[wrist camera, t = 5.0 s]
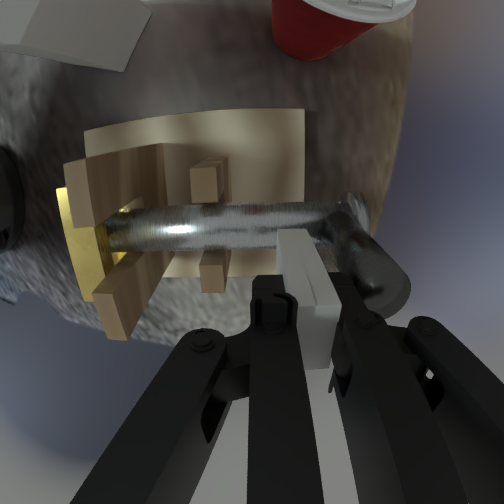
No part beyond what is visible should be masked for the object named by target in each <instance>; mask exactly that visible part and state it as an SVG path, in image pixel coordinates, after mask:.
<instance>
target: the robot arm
mask: <svg viewBox="0 0 504 504" xmlns="http://www.w3.org/2000/svg"><path fill="white" fill-rule="evenodd" d="M23 221H24V199H23V192H22V186H21V182H20V178H19V175H18V172H17V170H16V167H15V165H14V163H13V161H12V160H11V158H10V157H9V155H8V154H7V153H6V152H5V151H4V150H3V149H1V148H0V254H1V253H3V252H5V251H6V250H8V249H9V248H11V247H12V246H13V245H14V244H15V243H16V242H17V241H18V239H19V237H20V234H21V231H22V227H23ZM250 317H251V324H250V326H249V327H248V328H247V329H246V330H245V331H243V332H241V333H240V334H237V335H234V336H229V337H224V335H223V334H221V333H220V332H219V331H216V330H213V329H208V328H201V329H196V330H192V331H190V332H188V333H186V334H185V335H184V336H183V337H182V338H181V339H180V341H179V342H178V344H177V345H176V346H175V348H174V350H173V351H172V352H171V354H170V355H169V357H168V358H167V360H166V361H165V363H164V364H163V365H162V367H161V368H160V370H159V371H158V373H157V374H156V376H155V377H154V378H153V380H152V381H151V383H150V384H149V386H148V387H147V389H146V390H145V392H144V393H143V395H142V396H141V398H140V399H139V400H138V402H137V403H136V405H135V407H134V408H133V409H132V411H131V412H130V414H129V415H128V417H127V418H126V420H125V421H124V423H123V424H122V426H121V427H120V429H119V430H118V432H117V433H116V434H115V436H114V438H113V439H112V440H111V442H110V444H109V445H108V446H107V448H106V450H105V451H104V453H103V454H102V455H101V457H100V458H99V460H98V461H97V463H96V464H95V466H94V467H93V469H92V470H91V472H90V473H89V475H88V476H87V478H86V479H85V481H84V482H83V484H82V486H81V487H80V489H79V490H78V492H77V493H76V495H75V496H74V498H73V499H72V501H71V502H70V504H189V503H190V500H191V498H192V496H193V494H194V492H195V489H196V487H197V485H198V482H199V480H200V478H201V476H202V473H203V471H204V469H205V467H206V464H207V462H208V460H209V457H210V455H211V452H212V450H213V448H214V445H215V443H216V440H217V438H218V436H219V433H220V431H221V429H222V426H223V424H224V421H225V419H226V416H227V414H228V411H229V409H230V406H231V404H232V401H233V400H237V399H241V398H245V397H249V430H248V473H247V474H248V476H247V504H324V497H323V490H322V482H321V474H320V467H319V461H318V453H317V446H316V439H315V432H314V426H313V420H312V414H311V407H310V401H309V395H308V389H307V383H306V377H305V371H304V370H309V369H323V368H329V365H330V360H331V358H332V362H333V365H334V369H333V373H332V377H331V380H330V384H329V389H328V392H329V393H331V392H332V389H333V386H334V389H335V393H336V397H337V401H338V406H339V409H340V414H341V418H342V422H343V427H344V431H345V435H346V440H347V445H348V450H349V454H350V459H351V464H352V468H353V474H354V478H355V484H356V489H357V494H358V500H359V504H468V503H469V504H504V384H503V383H502V382H501V381H500V380H499V379H498V378H497V377H496V376H495V375H494V374H493V373H492V372H491V371H490V370H489V369H488V368H487V367H486V366H485V365H484V364H483V363H482V362H481V361H480V360H479V359H478V358H477V357H476V356H475V355H474V354H473V353H472V352H471V351H470V350H469V349H468V348H467V347H466V346H465V345H463V343H462V342H460V341H459V340H458V339H457V338H456V337H455V336H454V335H453V334H452V333H451V332H450V331H448V330H447V329H446V328H445V327H444V326H443V325H442V324H441V323H439V322H438V321H436V320H435V319H433V318H430V317H426V316H418V317H414V318H413V319H411V320H410V322H409V325H408V327H407V328H405V327H396V326H390V325H387V323H386V321H385V320H384V318H383V317H382V316H381V315H380V314H378V313H376V312H374V311H371V310H368V308H367V307H366V305H365V303H364V301H363V299H362V298H361V296H360V294H359V292H358V290H357V289H356V287H355V286H354V283H353V282H352V280H351V278H350V277H348V276H347V275H346V274H344V273H343V272H328V273H327V271H326V269H325V267H324V265H323V262H322V260H321V258H320V256H319V254H318V252H317V250H316V248H315V246H314V244H313V242H312V240H311V237H310V235H309V233H308V231H307V229H277V254H276V275H257V276H256V278H255V279H254V280H253V281H252V300H251V303H250ZM429 369H430V370H431V372H432V373H433V374H434V376H433V377H432V379H429V378H428V377H427V376H426V373H427V371H428V370H429Z"/></svg>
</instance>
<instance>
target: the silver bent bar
mask: <svg viewBox="0 0 504 504" xmlns="http://www.w3.org/2000/svg"><path fill="white" fill-rule="evenodd" d="M105 224H106V229H107V234H108V239H109V244H110V248H111V252H152V251H198V250H248V249H277V229H307V231H308V233H309V235H310V237H311V240H312V242H313V244H314V246H315V248H326V249H327V251H328V253H329V255H330V256H331V258H332V260H333V262H334V264H335V265H336V267H337V269H338V271H339V272H343V273H344V274H346V275H347V276H348V277H350V278H351V280H352V282H353V283H354V286H355V287H356V289H357V290H358V292H359V294H360V296H361V298H362V299H363V301H364V303H365V305H366V307H367V308H368V310H371V311H374V312H376V313H378V314H380V315H381V316H382V317H383V318H384V319H386V318H389V317H390V316H392V315H394V314H396V313H397V312H398V311H399V310H400V309H401V308H402V307H403V306H404V305H405V303H406V301H407V300H408V298H409V295H410V291H411V283H410V279H409V277H408V276H407V275H406V274H405V273H404V271H403V270H402V269H401V268H400V267H399V266H398V265H397V264H396V262H395V261H394V260H393V259H392V258H391V257H390V256H389V255H388V254H387V253H386V252H385V251H384V250H383V248H382V247H381V246H380V245H379V244H378V243H377V242H376V241H375V240H374V239H373V238H372V237H371V236H370V235H369V234H370V218H369V211H368V206H367V203H366V200H365V198H364V196H363V195H362V194H361V193H360V192H348V191H346V192H344V193H343V194H342V196H341V198H340V202H235V203H207V204H186V205H169V206H153V207H139V208H127V209H120V210H119V211H117V212H116V213H114V214H113V215H111V216H110V217H108V218H107V219H106V220H105Z"/></svg>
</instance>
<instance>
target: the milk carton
mask: <svg viewBox="0 0 504 504" xmlns="http://www.w3.org/2000/svg"><path fill="white" fill-rule="evenodd" d="M151 14H152V12H151V11H150V10H149V9H148V8H147V7H146V6H145V5H144V4H143V3H142V2H141V1H140V0H0V52H8V53H16V54H22V55H29V56H34V57H40V58H45V59H50V60H55V61H59V62H64V63H68V64H73V65H81V66H88V67H95V68H101V69H107V70H112V71H117V72H124V70H125V68H126V66H127V63H128V61H129V59H130V56H131V54H132V52H133V50H134V48H135V45H136V43H137V41H138V39H139V37H140V35H141V33H142V31H143V29H144V27H145V25H146V23H147V22H148V20H149V18H150V16H151Z"/></svg>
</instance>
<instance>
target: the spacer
mask: <svg viewBox="0 0 504 504" xmlns="http://www.w3.org/2000/svg"><path fill="white" fill-rule="evenodd" d="M56 193H57V198H58V204H59V209H60V214H61V219H62V224H63V229H64V233H65V237H66V241H67V245H68V249H69V253H70V257H71V260H72V264H73V267H74V271H75V274H76V277H77V280H78V284H79V287H80V290H81V293H82V296H83V299H84V301H91V302H94V300H93V297H92V294H91V293H92V292H93V291H94V289H95V288H96V287H97V286H98V285H99V283H100V282H101V281H102V280H103V279H104V278H105V276H106V275H107V274H108V273H109V272H110V271H111V270H112V268H113V267H114V266H115V265H116V264H117V263H118V262H119V261H120V260H121V258H122V257H123V256H124V255H125V254H126V253H127V252H111V248H110V244H109V239H108V234H107V229H106V224H105V220H104V221H103V222H101V223H100V224H99V225H97V226H96V227H85V228H74V227H73V222H72V217H71V212H70V207H69V201H68V195H67V189H66V185H65V186H62V187H60V188H57V189H56ZM121 209H127V207H126V206H124V207H123V208H121Z"/></svg>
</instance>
